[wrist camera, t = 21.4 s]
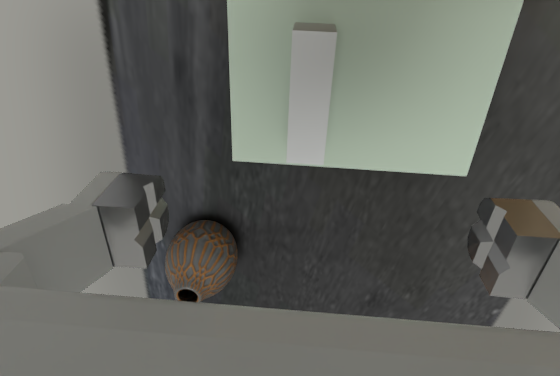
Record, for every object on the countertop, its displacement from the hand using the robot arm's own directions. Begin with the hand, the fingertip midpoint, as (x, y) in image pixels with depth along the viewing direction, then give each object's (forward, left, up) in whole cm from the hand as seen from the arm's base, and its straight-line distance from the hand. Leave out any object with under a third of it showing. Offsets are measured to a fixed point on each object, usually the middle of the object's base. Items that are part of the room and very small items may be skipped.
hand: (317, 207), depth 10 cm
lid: (+3, +4, -24) cm, 25 cm away
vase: (+20, -10, -24) cm, 33 cm away
